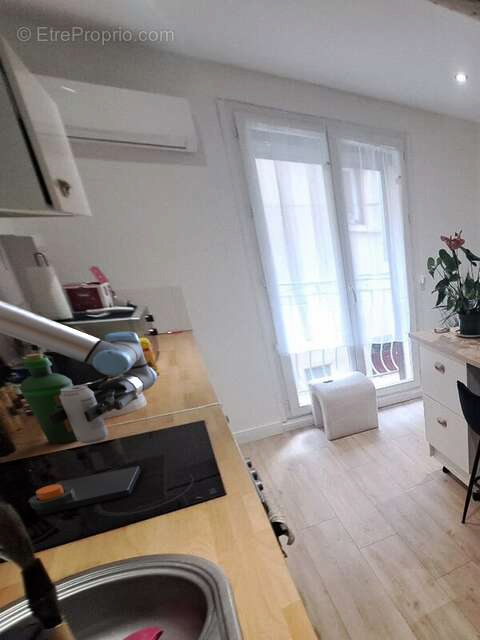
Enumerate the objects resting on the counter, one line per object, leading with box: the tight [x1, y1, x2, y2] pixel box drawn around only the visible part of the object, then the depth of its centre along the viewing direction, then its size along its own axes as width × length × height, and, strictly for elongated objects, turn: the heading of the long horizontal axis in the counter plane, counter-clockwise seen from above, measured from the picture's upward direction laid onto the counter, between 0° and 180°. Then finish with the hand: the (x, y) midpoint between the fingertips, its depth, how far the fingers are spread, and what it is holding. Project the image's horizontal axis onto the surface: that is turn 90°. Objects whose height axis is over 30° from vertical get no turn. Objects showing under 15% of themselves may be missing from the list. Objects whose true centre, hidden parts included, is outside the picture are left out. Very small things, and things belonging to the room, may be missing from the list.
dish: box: [93, 391, 147, 420], centre depth 154 cm, size 22×22×5 cm
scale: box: [28, 465, 142, 516], centre depth 104 cm, size 17×15×4 cm
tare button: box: [35, 483, 64, 500], centre depth 97 cm, size 4×4×2 cm
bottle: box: [18, 353, 78, 445], centre depth 127 cm, size 11×11×28 cm
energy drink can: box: [59, 384, 109, 445], centre depth 109 cm, size 6×6×15 cm
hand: (70, 418), depth 104 cm, fingers closed on energy drink can, 6 cm apart
